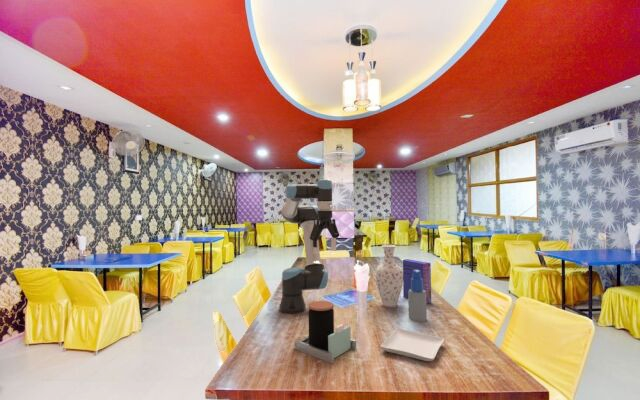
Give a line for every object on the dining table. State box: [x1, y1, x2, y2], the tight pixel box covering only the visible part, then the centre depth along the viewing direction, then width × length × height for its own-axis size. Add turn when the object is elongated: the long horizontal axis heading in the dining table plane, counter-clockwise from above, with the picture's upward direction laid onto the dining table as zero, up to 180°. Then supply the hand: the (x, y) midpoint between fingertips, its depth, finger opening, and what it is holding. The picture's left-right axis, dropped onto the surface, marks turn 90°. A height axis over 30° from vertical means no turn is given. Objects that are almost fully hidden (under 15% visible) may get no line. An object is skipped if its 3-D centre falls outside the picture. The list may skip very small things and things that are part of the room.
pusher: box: [328, 323, 351, 359], centre depth 127 cm, size 1×13×11 cm, turn 139°
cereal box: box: [402, 259, 432, 305], centre depth 199 cm, size 17×5×24 cm, turn 34°
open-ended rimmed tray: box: [294, 335, 357, 365], centre depth 132 cm, size 20×16×4 cm
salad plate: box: [379, 328, 445, 362], centre depth 132 cm, size 21×21×3 cm
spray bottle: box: [407, 270, 428, 323], centre depth 166 cm, size 9×9×25 cm
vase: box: [375, 244, 403, 308], centre depth 189 cm, size 16×16×35 cm
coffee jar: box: [308, 300, 335, 351], centre depth 134 cm, size 11×11×18 cm
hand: (325, 252), depth 161 cm, fingers open, 13 cm apart
